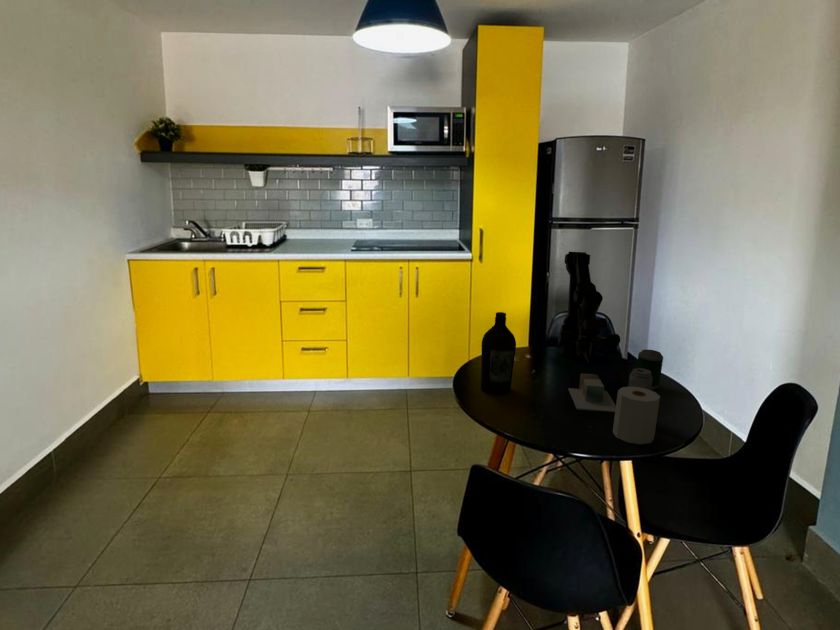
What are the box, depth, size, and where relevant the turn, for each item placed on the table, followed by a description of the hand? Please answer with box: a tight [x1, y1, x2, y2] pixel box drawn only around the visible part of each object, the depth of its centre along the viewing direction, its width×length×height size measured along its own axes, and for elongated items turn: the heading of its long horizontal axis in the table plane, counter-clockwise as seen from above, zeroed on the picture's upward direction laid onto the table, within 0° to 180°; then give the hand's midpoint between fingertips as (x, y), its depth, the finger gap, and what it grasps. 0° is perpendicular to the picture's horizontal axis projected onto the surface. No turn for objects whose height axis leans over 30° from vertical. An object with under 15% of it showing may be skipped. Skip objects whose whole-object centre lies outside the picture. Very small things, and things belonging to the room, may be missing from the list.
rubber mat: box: [567, 387, 616, 413], centre depth 176 cm, size 16×12×1 cm
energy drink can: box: [627, 367, 653, 391], centre depth 160 cm, size 6×6×15 cm
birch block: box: [578, 372, 605, 402], centre depth 178 cm, size 5×5×11 cm
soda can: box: [636, 349, 664, 391], centre depth 187 cm, size 8×8×12 cm
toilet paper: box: [612, 386, 661, 445], centre depth 151 cm, size 10×10×12 cm
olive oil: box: [480, 311, 517, 396], centre depth 178 cm, size 11×11×25 cm
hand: (590, 363), depth 181 cm, fingers closed
